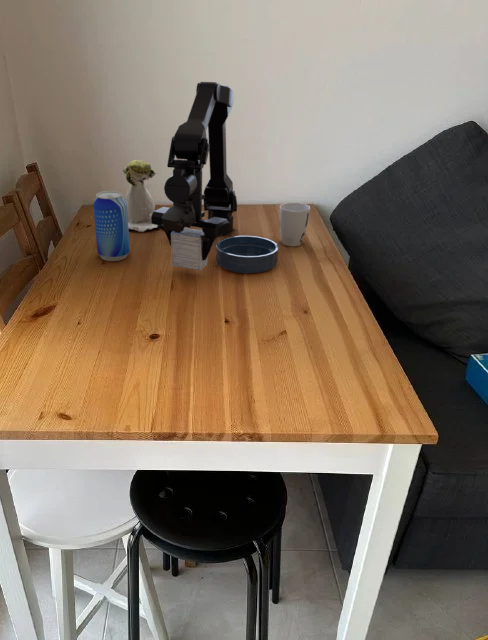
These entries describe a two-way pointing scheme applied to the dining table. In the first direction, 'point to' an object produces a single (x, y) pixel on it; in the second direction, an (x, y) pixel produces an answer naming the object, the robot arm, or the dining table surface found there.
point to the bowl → (246, 254)
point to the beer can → (111, 225)
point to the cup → (293, 222)
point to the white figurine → (139, 196)
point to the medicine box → (187, 249)
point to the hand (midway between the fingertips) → (189, 256)
